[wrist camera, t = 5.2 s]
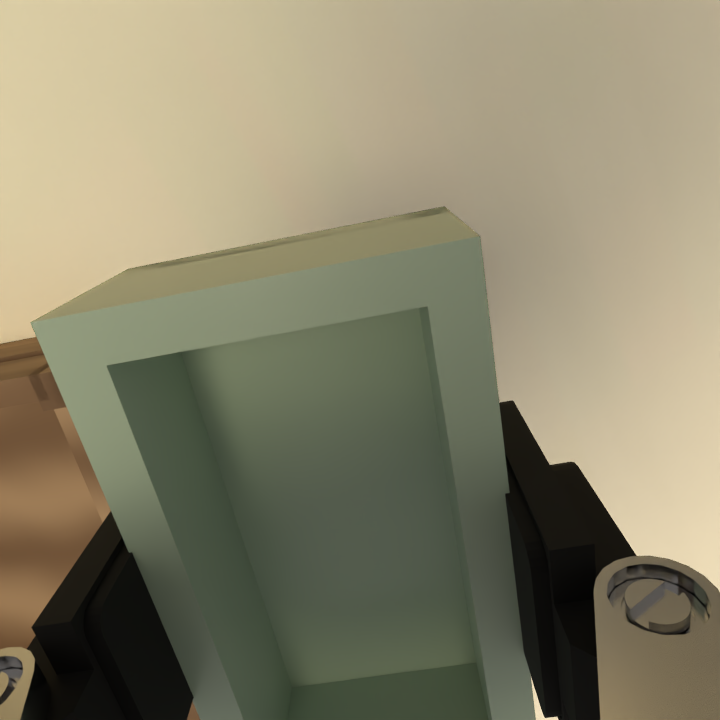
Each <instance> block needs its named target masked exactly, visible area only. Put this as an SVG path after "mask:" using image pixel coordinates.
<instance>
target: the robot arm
mask: <svg viewBox="0 0 720 720" xmlns="http://www.w3.org/2000/svg"><path fill="white" fill-rule="evenodd" d="M499 406H500V414H501V423H502V432H503V440H504V449H505V458H506V466H507V475H508V484H509V492H510V493H506V494H505V497H506V506H507V514H508V523H509V531H510V540H511V548H512V556H513V565H514V573H515V582H516V590H517V599H518V607H519V615H520V624H521V632H522V641H523V649H524V655H525V658H526V661H527V664H528V667H529V671H530V674H531V677H532V680H533V684H534V687H535V690H536V693H537V696H538V700H539V703H540V706H541V709H542V712H543V715H544V717H545V718H548V717H556V716H558V719H559V720H720V592H719V590H718V589H717V588H716V587H715V586H714V585H713V584H712V583H711V582H710V581H709V580H708V579H707V578H706V577H705V576H704V575H702V574H700V573H699V572H697V571H695V570H694V569H692V568H690V567H689V566H687V565H684V564H681V563H679V562H676V561H673V560H670V559H666V558H660V557H654V556H636V554H635V553H634V551H633V550H632V548H631V547H630V545H629V544H628V542H627V541H626V539H625V538H624V536H623V534H622V533H621V531H620V530H619V528H618V527H617V525H616V524H615V522H614V521H613V519H612V518H611V516H610V515H609V513H608V511H607V510H606V508H605V507H604V505H603V504H602V502H601V501H600V499H599V498H598V496H597V495H596V493H595V492H594V490H593V489H592V487H591V485H590V484H589V482H588V481H587V479H586V478H585V476H584V475H583V473H582V472H581V470H580V469H579V467H578V466H577V465H576V464H575V463H574V462H567V463H560V464H554V465H549V463H548V461H547V460H546V458H545V456H544V454H543V452H542V451H541V449H540V447H539V445H538V444H537V442H536V440H535V438H534V437H533V435H532V433H531V431H530V430H529V428H528V426H527V424H526V423H525V421H524V419H523V417H522V416H521V414H520V412H519V410H518V408H517V407H516V405H515V403H514V402H513V401H506V402H500V403H499ZM31 628H32V630H33V632H34V633H35V635H36V636H35V637H34V639H33V640H32V642H31V643H30V645H29V646H28V648H27V649H25V648H22V647H7V648H4V649H0V720H187V718H188V714H189V711H190V708H191V705H192V701H193V698H194V697H193V694H192V692H191V690H190V687H189V685H188V683H187V680H186V678H185V676H184V673H183V671H182V669H181V666H180V664H179V661H178V659H177V657H176V654H175V652H174V650H173V647H172V645H171V643H170V640H169V638H168V636H167V633H166V631H165V629H164V626H163V624H162V621H161V619H160V617H159V614H158V612H157V610H156V607H155V605H154V603H153V600H152V598H151V596H150V593H149V591H148V589H147V586H146V584H145V581H144V579H143V577H142V574H141V572H140V570H139V567H138V565H137V563H136V560H135V558H134V556H133V553H132V552H130V553H129V552H128V549H127V547H126V545H125V542H124V540H123V538H122V535H121V533H120V531H119V528H118V526H117V524H116V521H115V519H114V517H113V514H112V512H111V511H110V513H109V514H108V516H107V517H106V519H105V520H104V522H103V523H102V524H101V526H100V527H99V529H98V530H97V532H96V533H95V535H94V536H93V538H92V539H91V541H90V542H89V544H88V545H87V546H86V548H85V549H84V551H83V552H82V554H81V555H80V557H79V558H78V560H77V561H76V563H75V564H74V565H73V567H72V568H71V570H70V571H69V573H68V574H67V576H66V577H65V579H64V580H63V582H62V583H61V585H60V586H59V587H58V589H57V590H56V592H55V593H54V595H53V596H52V598H51V599H50V601H49V602H48V604H47V605H46V607H45V608H44V609H43V611H42V612H41V614H40V615H39V617H38V618H37V620H36V621H35V623H34V624H33V626H32V627H31Z"/></svg>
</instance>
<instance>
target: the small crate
mask: <svg viewBox="0 0 720 720" xmlns="http://www.w3.org/2000/svg"><path fill="white" fill-rule="evenodd" d="M31 325H32V327H33V330H34V332H35V334H36V337H37V339H38V341H39V344H40V346H41V348H42V351H43V353H44V355H45V358H46V360H47V362H48V365H49V367H50V369H51V372H52V374H53V376H54V379H55V381H56V383H57V386H58V388H59V390H60V393H61V395H62V397H63V400H64V402H65V404H66V407H67V409H68V411H69V414H70V416H71V418H72V421H73V423H74V426H75V428H76V430H77V433H78V435H79V437H80V440H81V442H82V444H83V447H84V449H85V451H86V454H87V456H88V458H89V461H90V463H91V465H92V468H93V470H94V472H95V475H96V477H97V479H98V482H99V484H100V486H101V489H102V491H103V493H104V496H105V498H106V500H107V503H108V505H109V507H110V510H111V512H112V514H113V517H114V519H115V521H116V524H117V526H118V528H119V531H120V533H121V535H122V538H123V540H124V542H125V545H126V547H127V549H128V552H129V553H130V552H132V553H133V556H134V558H135V560H136V563H137V565H138V567H139V570H140V572H141V574H142V577H143V579H144V581H145V584H146V586H147V589H148V591H149V593H150V596H151V598H152V600H153V603H154V605H155V607H156V610H157V612H158V614H159V617H160V619H161V621H162V624H163V626H164V629H165V631H166V633H167V636H168V638H169V640H170V643H171V645H172V647H173V650H174V652H175V654H176V657H177V659H178V661H179V664H180V666H181V669H182V671H183V673H184V676H185V678H186V680H187V683H188V685H189V687H190V690H191V692H192V694H193V697H194V698H193V704H194V706H195V708H196V711H197V713H198V715H199V718H200V720H536V718H535V710H534V701H533V692H532V684H531V675H530V671H529V667H528V664H527V661H526V658H525V655H524V649H523V641H522V632H521V624H520V615H519V607H518V599H517V590H516V582H515V573H514V565H513V556H512V548H511V540H510V531H509V523H508V514H507V506H506V497H505V494H506V493H510V492H509V484H508V475H507V466H506V458H505V449H504V440H503V432H502V423H501V414H500V406H499V397H498V388H497V379H496V371H495V362H494V353H493V345H492V336H491V327H490V319H489V310H488V301H487V293H486V284H485V275H484V267H483V258H482V249H481V240H480V236H479V235H478V234H477V233H476V232H475V231H473V230H472V229H471V228H470V227H469V226H467V225H466V224H465V223H464V222H462V221H461V220H460V219H459V218H458V217H456V216H455V215H454V214H453V213H452V212H450V211H449V210H448V209H447V208H446V207H439V208H434V209H429V210H424V211H419V212H414V213H409V214H404V215H399V216H394V217H389V218H384V219H378V220H373V221H368V222H363V223H358V224H353V225H348V226H343V227H338V228H333V229H328V230H323V231H318V232H313V233H308V234H302V235H297V236H292V237H287V238H282V239H277V240H272V241H267V242H262V243H257V244H252V245H247V246H242V247H237V248H232V249H227V250H221V251H216V252H211V253H206V254H201V255H196V256H191V257H186V258H181V259H176V260H171V261H166V262H161V263H156V264H151V265H146V266H140V267H135V268H130V269H127V270H125V271H124V272H122V273H120V274H118V275H116V276H114V277H113V278H111V279H109V280H107V281H105V282H104V283H102V284H100V285H98V286H96V287H94V288H93V289H91V290H89V291H87V292H85V293H83V294H82V295H80V296H78V297H76V298H74V299H73V300H71V301H69V302H67V303H65V304H63V305H62V306H60V307H58V308H56V309H54V310H52V311H51V312H49V313H47V314H45V315H43V316H42V317H40V318H38V319H36V320H34V321H32V322H31Z"/></svg>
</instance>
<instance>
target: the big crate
mask: <svg viewBox="0 0 720 720" xmlns="http://www.w3.org/2000/svg"><path fill="white" fill-rule="evenodd" d="M110 511H111V510H110V507H109V505H108V503H107V500H106V498H105V496H104V493H103V491H102V489H101V486H100V484H99V482H98V479H97V477H96V475H95V472H94V470H93V468H92V465H91V463H90V461H89V458H88V456H87V454H86V451H85V449H84V447H83V444H82V442H81V440H80V437H79V435H78V433H77V430H76V428H75V426H74V423H73V421H72V418H71V416H70V414H69V411H68V409H67V407H66V404H65V402H64V400H63V397H62V395H61V393H60V390H59V388H58V386H57V383H56V381H55V379H54V376H53V374H52V372H51V369H50V367H49V365H48V362H47V360H46V358H45V355H44V353H43V351H42V348H41V346H40V344H39V341H38V339H37V337H35V338H29V339H24V340H19V341H14V342H8V343H3V344H0V649H4V648H7V647H22V648H25V649H27V648H28V646H29V645H30V643H31V642H32V640H33V639H34V637H35V636H36V635H35V633H34V632H33V630H32V628H31V627H32V626H33V624H34V623H35V621H36V620H37V618H38V617H39V615H40V614H41V612H42V611H43V609H44V608H45V607H46V605H47V604H48V602H49V601H50V599H51V598H52V596H53V595H54V593H55V592H56V590H57V589H58V587H59V586H60V585H61V583H62V582H63V580H64V579H65V577H66V576H67V574H68V573H69V571H70V570H71V568H72V567H73V565H74V564H75V563H76V561H77V560H78V558H79V557H80V555H81V554H82V552H83V551H84V549H85V548H86V546H87V545H88V544H89V542H90V541H91V539H92V538H93V536H94V535H95V533H96V532H97V530H98V529H99V527H100V526H101V524H102V523H103V522H104V520H105V519H106V517H107V516H108V514H109V513H110ZM187 720H200V718H199V715H198V713H197V711H196V708H195V706H194V704H193V701H192V705H191V708H190V711H189V714H188V718H187Z"/></svg>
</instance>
